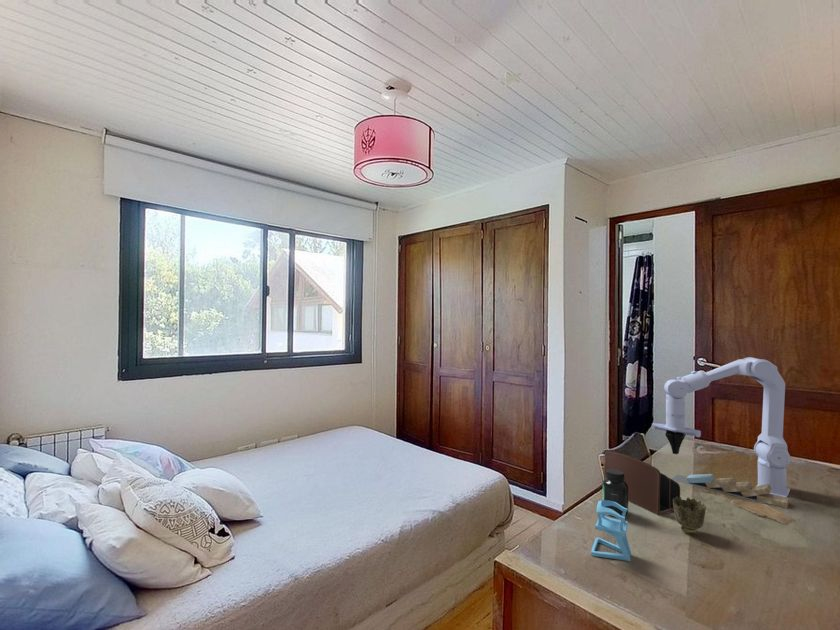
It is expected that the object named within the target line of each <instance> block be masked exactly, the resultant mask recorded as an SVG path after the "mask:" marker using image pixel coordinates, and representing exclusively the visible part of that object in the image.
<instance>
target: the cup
mask: <svg viewBox="0 0 840 630" xmlns="http://www.w3.org/2000/svg"><path fill="white" fill-rule="evenodd" d="M673 506H674V511H673V512H674V517H675V520H676V522H677V523H678V524H679V525H680V528H681V531H682V532H683V533H684V534H687V535H690V536H695V535H697V533H698V529H701V528H702V527H703V525H704V522H705V519H706V518H705V517H706V510H707V507H706V506H707V505H706V504H705V503H702V502H701V501H698V500H696V499H695V498H690V497H686V499H682V497H681V496H680V497H679V498H678V497H677V496H676V497H675V499H674V498H673Z"/></svg>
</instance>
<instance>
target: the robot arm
mask: <svg viewBox="0 0 840 630" xmlns="http://www.w3.org/2000/svg"><path fill="white" fill-rule="evenodd" d="M734 375H740V376H747V377H750V378H752V379H754V380H755V381H756V382H758V383H759V384H760V385H762V387H763V395H762V397H763V398H762V414H761V416H762V417H761V433H760V434H759V435H758V436H757V441H756V442H755V444H754V447H753V452H754V453H755V455H756V456H757V485H756V486H759V485H766V484H769V485H770V487H771V488H772V490H771V492H770V494H773V495H778V496H782V497H786V498H788V496H789V493H790V491H791V489H790V488H789V487H787V486H788V485H787V466H788V465H790V462H791V455H790V453H789V451H788V444H787V442H786V440H785V439H784V422H785V421H784V417H785V399H786V398H785V397H786V396H785V395H786V394H785V393H786V382H785V380H784V379H783V377H782V375H781V374H780V372H779V370H778V366H777V365H775V364H773V363H772V362H771V361H769V360H767V359H760V358H756V357H753V356H752V357H751V356H748V357H744V358H739V359H736V360H734V361H731V362H729V363H727V364H724V365H721V366H718V367H717V368H714V369H712V370H708V371H706V372H702V371H700V370H699V371H696V370H693V371H690V374H686V375H684V376H678V377H677V376H676V379H668V380H667V381H666V382H665V383H664V386H663V387H662V388H663V391H664V393H665V423H657V422H653V423H651V429H652V430H659V431H662V432H663V431H664V432H665V437H666V439H667V440H668V442H669V446H670V447H671V453H672V454H674V455H678V454H679V453H680V449H681V445H682V444H683V441H684V440H685V437H686V436H691V437H695V438H700V437H702V436H701V435H702V433H701V430H698V429H694V428H689V427H686V402H685V400H686V399H685V397H686V396H687V394H690V393H693V392H695V391H699V390H702V389H705V388H708V387H709V386H710V383H711V382H714V381H717V380H720V379H724V378H727V377H731V376H734Z"/></svg>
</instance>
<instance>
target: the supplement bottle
mask: <svg viewBox="0 0 840 630" xmlns="http://www.w3.org/2000/svg"><path fill="white" fill-rule="evenodd" d="M606 477H607V478H606V479H604V478H603V481H602V500H609V501H614V502H616V503H618V504H619V505H621V506H622V507H624V508H627V511H626V514H625V518H626V517H627V516H628V515H629V501H628V485H627V483H626V482H625V481H624V479H625V478H624V472H623V471H621V470H617V469H607V470H606ZM605 507H606V508H610V509H612V510H614V511H615V512H617V513H618V514H619V515H621V516H622V513H623V511H621V510H620V509H619V508H617V507H615V506H605ZM609 516H611V515H609ZM611 517H612V518H613V517H614V516H611ZM614 518H615V517H614Z"/></svg>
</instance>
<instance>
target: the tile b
mask: <svg viewBox="0 0 840 630" xmlns="http://www.w3.org/2000/svg"><path fill="white" fill-rule="evenodd" d="M752 487H753V485H752V482H751V481H741V482H739V481H737V482H735V483H734V484H733V485H732V486H731V487H722V488H723V490H724V492H737V491H750V489H751V488H752Z"/></svg>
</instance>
